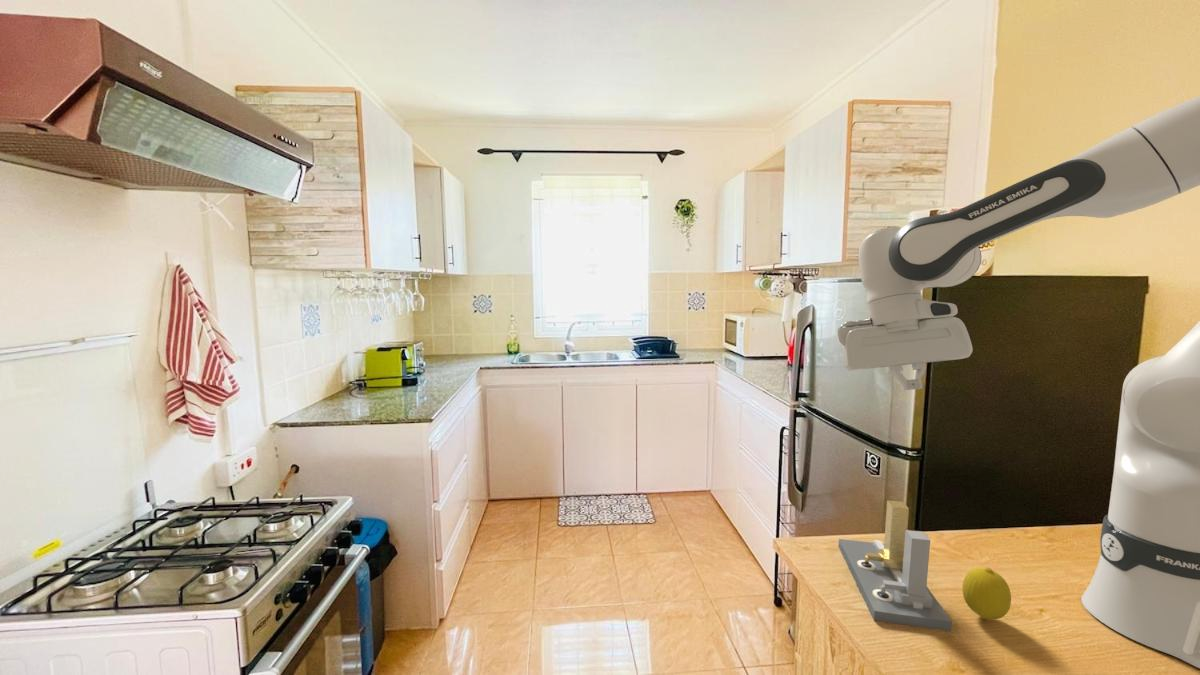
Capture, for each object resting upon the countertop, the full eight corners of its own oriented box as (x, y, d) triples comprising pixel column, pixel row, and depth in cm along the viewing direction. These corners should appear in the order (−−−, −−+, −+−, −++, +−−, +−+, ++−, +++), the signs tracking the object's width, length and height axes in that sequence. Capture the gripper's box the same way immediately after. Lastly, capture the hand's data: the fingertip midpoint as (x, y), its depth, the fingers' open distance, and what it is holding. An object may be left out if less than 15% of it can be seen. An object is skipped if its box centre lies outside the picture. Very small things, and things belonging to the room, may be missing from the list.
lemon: (1017, 634, 66) (1023, 582, 66) (973, 629, 68) (978, 577, 67) (993, 608, 72) (998, 559, 71) (952, 603, 73) (957, 555, 72)
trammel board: (897, 552, 87) (901, 491, 85) (950, 631, 67) (957, 552, 66) (838, 546, 89) (841, 485, 87) (873, 620, 70) (879, 544, 68)
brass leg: (903, 562, 80) (907, 501, 79) (910, 573, 77) (915, 509, 76) (862, 557, 82) (865, 497, 80) (867, 567, 79) (871, 505, 78)
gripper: (840, 319, 86) (854, 394, 84) (966, 303, 82) (986, 382, 79) (832, 325, 92) (845, 396, 90) (950, 311, 88) (967, 384, 85)
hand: (912, 389), depth 84 cm, fingers closed
